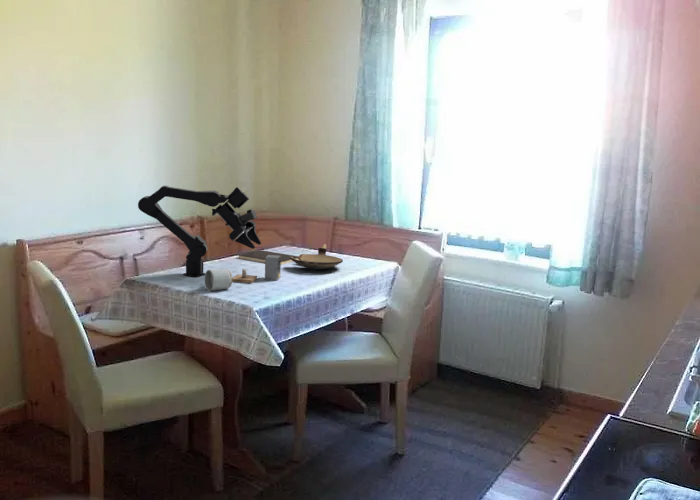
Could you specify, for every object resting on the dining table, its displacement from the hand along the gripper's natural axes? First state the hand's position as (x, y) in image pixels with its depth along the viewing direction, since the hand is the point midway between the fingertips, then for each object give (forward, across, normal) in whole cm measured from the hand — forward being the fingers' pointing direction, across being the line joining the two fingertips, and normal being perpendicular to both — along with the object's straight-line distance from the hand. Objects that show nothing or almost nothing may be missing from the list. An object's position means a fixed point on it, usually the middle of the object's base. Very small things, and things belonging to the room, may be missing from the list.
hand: (257, 246), depth 264 cm
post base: (+7, -6, +11) cm, 14 cm away
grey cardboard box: (+14, 0, +4) cm, 14 cm away
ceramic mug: (+2, -22, +16) cm, 27 cm away
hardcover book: (+6, +37, +13) cm, 40 cm away
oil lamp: (+24, +27, -5) cm, 36 cm away
